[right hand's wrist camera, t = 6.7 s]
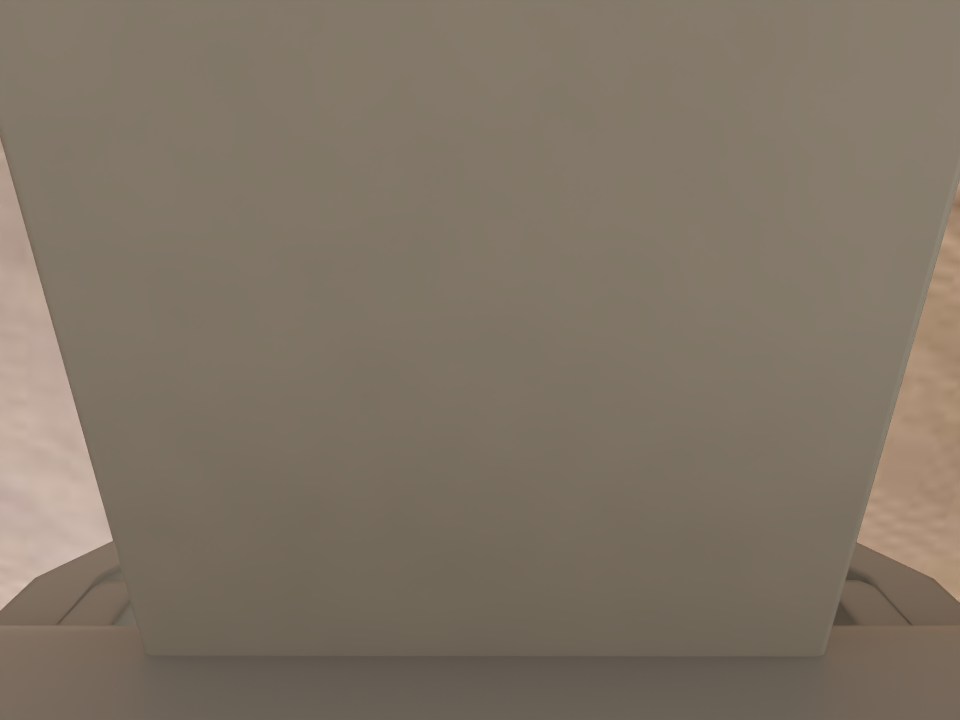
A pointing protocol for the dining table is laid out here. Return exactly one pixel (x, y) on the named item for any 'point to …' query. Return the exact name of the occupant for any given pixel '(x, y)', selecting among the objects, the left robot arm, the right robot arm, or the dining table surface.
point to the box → (483, 307)
